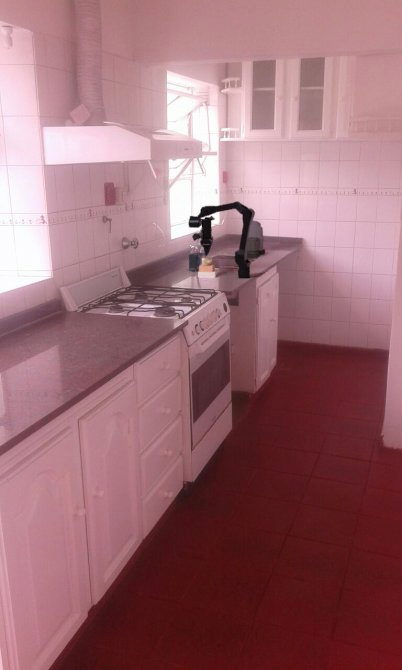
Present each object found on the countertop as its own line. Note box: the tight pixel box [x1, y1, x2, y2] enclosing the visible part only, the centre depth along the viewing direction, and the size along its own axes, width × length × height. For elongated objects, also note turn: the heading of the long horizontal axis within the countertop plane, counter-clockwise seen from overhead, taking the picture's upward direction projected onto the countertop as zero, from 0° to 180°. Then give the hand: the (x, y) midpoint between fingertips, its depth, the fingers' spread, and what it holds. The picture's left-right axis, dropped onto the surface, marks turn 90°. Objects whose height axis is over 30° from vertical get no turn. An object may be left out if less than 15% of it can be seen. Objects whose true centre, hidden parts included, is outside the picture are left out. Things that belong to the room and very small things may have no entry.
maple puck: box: [202, 257, 213, 266], centre depth 361 cm, size 6×6×4 cm
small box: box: [188, 252, 207, 273], centre depth 383 cm, size 11×6×10 cm, turn 143°
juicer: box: [247, 220, 266, 259], centre depth 438 cm, size 30×16×24 cm, turn 166°
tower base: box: [197, 268, 218, 279], centre depth 363 cm, size 10×10×4 cm
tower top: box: [198, 263, 216, 272], centre depth 362 cm, size 8×8×4 cm
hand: (207, 254), depth 360 cm, fingers open, 9 cm apart
